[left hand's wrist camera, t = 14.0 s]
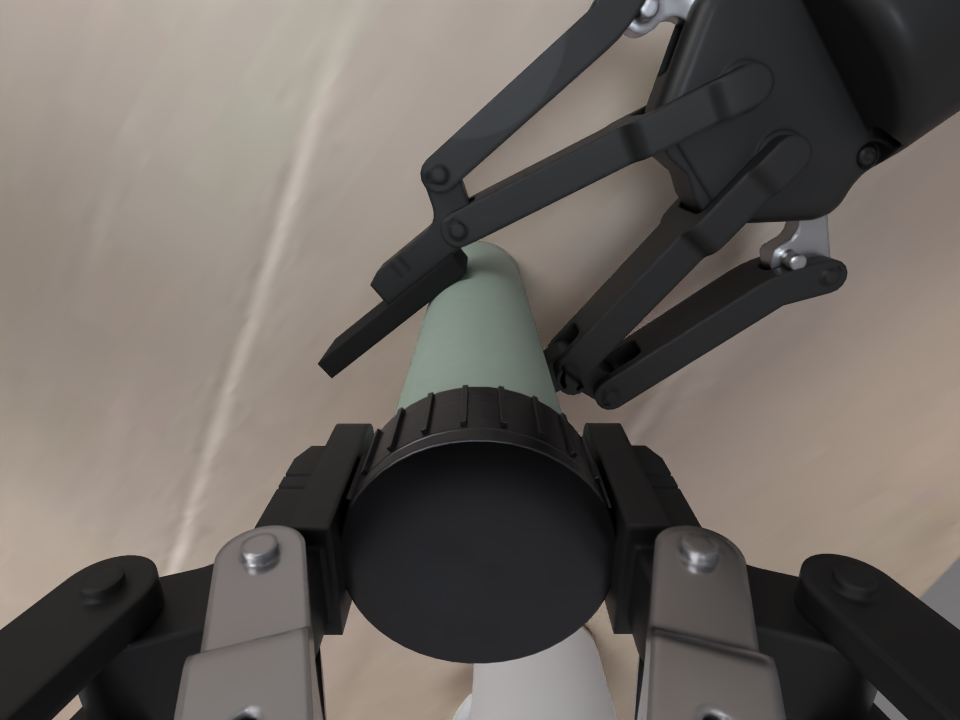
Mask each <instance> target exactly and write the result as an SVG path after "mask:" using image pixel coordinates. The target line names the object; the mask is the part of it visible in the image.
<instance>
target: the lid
mask: <svg viewBox="0 0 960 720" xmlns="http://www.w3.org/2000/svg"><path fill="white" fill-rule="evenodd" d="M345 503H347V504H349V505H348V508H347V511H346V514H345V517H344V519H343V522H342V526H341V531H340V540H341V550H342V559H343V568H344V577H345V585H346V589H347V591H348V593H349V595H350V597H351V599H352V600H353V602H354V603H355V605H356V607H357V608H358V609H359V611H360V612H361V613H362V614H363V615H364V617H365V618H366V619H367V620H368V621H369V622H370V623H371V624H372V625H373V626H375V627H376V628H377V629H378V630H379V631H380V632H382V633H383V634H384V635H386V636H387V637H389V638H390V639H391V640H393V641H395V642H397V643H399V644H400V645H402V646H404V647H406V648H408V649H411V650H413V651H415V652H418V653H420V654H423V655H426V656H430V657H433V658H436V659H441V660H446V661H451V662H459V663H473V664H486V663H498V662H505V661H511V660H516V659H520V658H524V657H527V656H530V655H534V654H536V653H539V652H541V651H544V650H546V649H549V648H551V647H552V646H554V645H556V644H558V643H560V642H562V641H563V640H565V639H566V638H568V637H569V636H571V635H572V634H574V633H575V632H576V631H577V630H579V629H580V628H581V627H582V626H583V625H584V624H585V623H586V622H588V620H589V619H590V618H591V617H592V616H593V615H594V614H595V612H596V611H597V610H598V609H599V607H600V606H601V604H602V603H603V601H604V600H605V598H606V596H607V594H608V592H609V590H610V588H611V581H612V572H613V563H614V554H615V545H616V528H615V524H614V521H613V518H612V516H611V513H610V512H611V504H610V502H609V499H608V496H607V493H606V490H605V487H604V485H603V482H602V479H601V476H600V473H599V471H598V468H597V465H596V463H595V461H594V458H593V456H592V453H591V450H590V447H589V444H588V442H587V439H586V437H585V436H582V437H580V435H579V434H578V433H577V431H576V430H575V429H574V428H573V426H572V425H571V424H570V423H569V422H568V420H567V417H566V415H565V414H564V413H561V414H559V413H557V412H556V411H555V410H553V409H552V408H551V407H549V406H547V405H545V404H544V403H542V402H540V401H538V397H536V396H534V395H533V396H532V397H529V396H527V395H524V394H521V393H518V392H514V391H510V390H506V389H504V387H503V386H498V388H493V387H468V385H462V388H455V389H451V390H446V391H442V392H438V393H436V394H434V393H433V392H431V393H428V396H427V397H425V398H423V399H421V400H419V401H417V402H415V403H413V404H411V405H409V406H408V407H406V408H405V409H404V408H403V407H401V408H400V409H398V411H397V414H396V416H394V417H393V418H392V419H391V420H390V421H389V422H388V423H387V424H386V425H385V426H384V427H383V429H382V430H379V429H377V430H376V432H375V434H374V436H373V439H372V442H371V445H370V448H369V450H368V453H367V456H365V455H362V457H361V459H360V462H359V465H358V467H357V470H356V473H355V475H354V478H353V481H352V484H351V486H350V489H349V492H348V494H347V497H346V500H345Z"/></svg>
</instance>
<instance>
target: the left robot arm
mask: <svg viewBox="0 0 960 720" xmlns="http://www.w3.org/2000/svg"><path fill="white" fill-rule="evenodd" d="M373 436H374V431H373V426H372V424H337V425H336V426H335V428H334V430H333V432H332V434H331V436H330V438H329V440H328V442H327V444H326V446H311V447H310V448H308V449H307V450H306V451H304V452H303V453H302V454H300V455H299V456H298V457H296V458H295V459H294V461H293V462H292V464H291V466H290V468H289V469H288V471H287V473H286V477H284V478H283V480H282V481H281V483H280V485H279V489H277V490H276V492H275V494H274V495H273V497H272V499H271V500H270V502H269V504H268V506H267V507H266V509H265V511H264V513H263V514H262V516H261V518H260V519H259V521H258V523H257V525H256V526H255V528H254V529H252V530H249V531H246V532H244V533H242V534H240V535H238V536H236V537H234V538H233V539H231V540H230V541H229V542H227V543H226V544H225V545H224V546H223V547H222V548H221V550H220V551H219V552H218V554H217V556H216V558H215V562H214V564H211V565H208V566H206V567H202V568H199V569H195V570H190V571H186V572H181V573H177V574H172V575H168V576H163V577H159V575H158V571H157V568H156V565H155V564H154V562H153V561H151V560H150V559H148V558H145V557H142V556H136V555H127V556H119V557H114V558H109V559H106V560H103V561H100V562H97V563H95V564H92V565H90V566H88V567H86V568H84V569H82V570H80V571H79V572H77V573H75V574H74V575H72V576H71V577H70V578H68V579H67V580H66V581H64V582H63V583H62V584H60V585H59V586H58V587H56V588H55V589H54V590H52V591H51V592H50V593H48V594H47V595H46V596H45V597H43V598H42V599H41V600H39V601H38V602H37V603H35V604H34V605H33V606H31V607H30V608H29V609H27V610H26V611H25V612H23V613H22V614H21V615H20V616H18V617H17V618H16V619H14V620H13V621H12V622H10V623H9V624H8V625H6V626H5V627H4V628H2V629H1V630H0V720H52V719H53V718H54V717H55V716H56V715H57V714H58V713H59V712H60V711H61V710H62V709H63V708H64V707H65V706H66V705H67V704H68V703H69V702H70V701H71V700H72V699H73V698H74V697H75V696H76V695H77V694H78V695H79V698H80V701H81V703H82V706H83V707H82V708H81V709H80V710H79V711H78V712H77V713H76V714H75V715H74V716H73V717H72V718H71V719H70V720H327V715H326V702H325V690H324V678H323V666H322V659H321V652H320V645H321V641H322V638H323V635H343V631H344V627H345V624H346V620H347V617H348V613H349V609H350V606H351V602H352V599H351V597H350V595H349V593H348V591H347V589H346V585H345V577H344V568H343V559H342V550H341V540H340V531H341V526H342V522H343V519H344V517H345V514H346V511H347V508H348V505H349V504H347V503H345V500H346V497H347V494H348V492H349V489H350V486H351V484H352V481H353V478H354V475H355V473H356V470H357V467H358V465H359V462H360V459H361V457H362V455H365V456H367V453H368V450H369V448H370V445H371V442H372V439H373ZM583 436H585V437H586V439H587V442H588V444H589V447H590V450H591V453H592V456H593V458H594V461H595V463H596V465H597V468H598V471H599V473H600V476H601V479H602V482H603V485H604V487H605V490H606V493H607V496H608V499H609V502H610V504H611V512H610V513H611V516H612V518H613V521H614V524H615V528H616V545H615V554H614V563H613V572H612V581H611V588H610V590H609V592H608V594H607V596H606V598H605V603H606V607H607V610H608V614H609V618H610V621H611V625H612V629H613V633H614V634H633V637H634V640H635V644H636V647H637V650H638V653H639V659H638V666H637V678H636V690H635V702H634V714H633V720H890V719H889V718H888V717H887V716H886V715H885V714H884V713H883V712H882V711H881V710H880V709H879V708H878V707H877V706H876V705H875V704H874V703H873V701H874V699H875V696H876V693H877V690H878V691H879V692H880V693H882V694H883V695H884V696H885V697H886V698H887V699H888V700H889V701H890V702H891V703H892V704H893V705H894V706H895V707H896V708H897V709H898V710H899V711H900V712H901V713H902V714H903V715H904V716H905V717H906V718H907V719H908V720H960V630H959V629H958V628H956V627H955V626H954V625H952V624H951V623H950V622H948V621H947V620H946V619H944V618H943V617H942V616H940V615H939V614H938V613H936V612H935V611H934V610H933V609H931V608H930V607H929V606H927V605H926V604H925V603H923V602H922V601H921V600H919V599H918V598H917V597H915V596H914V595H913V594H912V593H910V592H909V591H908V590H906V589H905V588H904V587H902V586H901V585H900V584H898V583H897V582H896V581H894V580H893V579H892V578H891V577H889V576H888V575H886V574H885V573H883V572H882V571H880V570H879V569H877V568H875V567H873V566H871V565H869V564H867V563H865V562H862V561H860V560H857V559H854V558H851V557H847V556H842V555H837V554H818V555H814V556H811V557H809V558H807V559H806V560H805V561H804V562H803V564H802V566H801V569H800V573H799V577H796V576H792V575H787V574H783V573H778V572H774V571H769V570H765V569H760V568H757V567H753V566H750V565H747V564H746V562H745V558H744V556H743V554H742V552H741V551H740V550H739V548H738V547H737V546H736V545H735V544H734V543H733V542H731V541H730V540H729V539H727V538H726V537H724V536H722V535H720V534H718V533H716V532H714V531H711V530H708V529H705V528H702V527H701V526H700V524H699V522H698V520H697V518H696V517H695V515H694V513H693V511H692V510H691V508H690V506H689V504H688V503H687V501H686V499H685V497H684V496H683V494H682V492H681V490H680V489H678V485H677V483H676V482H675V480H674V478H673V476H671V473H670V471H669V469H668V468H667V466H666V464H665V462H664V461H663V459H662V458H661V457H660V456H658V455H657V454H656V453H654V452H653V451H652V450H651V449H649V448H648V447H647V446H631V444H630V442H629V440H628V438H627V436H626V434H625V432H624V430H623V428H622V426H621V424H620V423H586V424H585V426H584V431H583Z"/></svg>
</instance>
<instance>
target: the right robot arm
mask: <svg viewBox="0 0 960 720" xmlns="http://www.w3.org/2000/svg"><path fill="white" fill-rule="evenodd" d="M664 21H665V22H671V23H673V24H675V28H674V31H673V33H672V36H671V39H670V42H669V45H668V47H667V50H666V53H665V56H664V59H663V61H662V64H661V67H660V70H659V72H658V75H657V78H656V81H655V84H654V86H653V89H652V92H651V95H650V97H649V100H648V103H647V105H646V106H644V107H642V108H640V109H638V110H636V111H634V112H632V113H630V114H628V115H626V116H624V117H622V118H620V119H619V120H617V121H615V122H613V123H611V124H609V125H608V126H607V127H605V128H603V129H602V130H600V131H598V132H596V133H594V134H592V135H590V136H588V137H586V138H584V139H582V140H580V141H578V142H576V143H574V144H572V145H570V146H569V147H567V148H565V149H563V150H561V151H559V152H557V153H555V154H553V155H551V156H549V157H547V158H545V159H543V160H541V161H539V162H537V163H535V164H534V165H532V166H530V167H528V168H526V169H524V170H522V171H520V172H518V173H516V174H514V175H512V176H510V177H508V178H506V179H504V180H502V181H500V182H499V183H497V184H495V185H493V186H491V187H489V188H487V189H485V190H483V191H481V192H479V193H477V194H475V195H473V196H471V197H468V194H467V191H466V188H465V185H464V182H463V178H464V177H465V176H466V175H467V174H468V173H470V172H471V171H472V170H473V169H474V168H475V167H476V166H477V165H479V164H480V163H481V162H482V161H483V160H484V159H485V158H486V157H488V156H489V155H490V154H491V153H492V152H493V151H494V150H495V149H497V148H498V147H499V146H500V145H501V144H502V143H503V142H504V141H506V140H507V139H508V138H509V137H510V136H511V135H512V134H513V133H515V132H516V131H517V130H518V129H519V128H520V127H521V126H522V125H524V124H525V123H526V122H527V121H528V120H529V119H530V118H531V117H533V116H534V115H535V114H536V113H537V112H538V111H539V110H540V109H542V108H543V107H544V106H545V105H546V104H547V103H548V102H549V101H551V100H552V99H553V98H554V97H555V96H556V95H557V94H558V93H560V92H561V91H562V90H563V89H564V88H565V87H566V86H567V85H569V84H570V83H571V82H572V81H573V80H574V79H575V78H576V77H578V76H579V75H580V74H581V73H582V72H583V71H584V70H585V69H587V68H588V67H589V66H590V65H591V64H592V63H593V62H594V61H596V60H597V59H598V58H599V57H600V56H601V55H602V54H603V53H604V52H606V51H607V50H608V49H609V48H610V47H611V46H612V45H613V44H614V43H615V42H616V41H617V40H618V39H619V38H620V37H621V36H622V34H623V35H625V36H627V37H629V38H639V37H642V36H643V35H645V34H647V33H648V32H650V31H652V30H653V29H654V28H655V27H656V26H657V25H658V24H659V23H660V22H664ZM958 111H960V0H594V1H593V3H592V5H591V7H590V9H589V10H588V12H587V13H586V14H585V15H584V16H583V17H581V18H580V19H579V20H578V21H577V22H576V23H575V24H574V25H573V26H572V27H571V28H569V29H568V30H567V31H566V32H565V33H564V34H563V35H562V36H561V37H560V38H559V39H558V40H556V41H555V42H554V43H553V44H552V45H551V46H550V47H549V48H548V49H547V50H546V51H544V52H543V53H542V54H541V55H540V56H539V57H538V58H537V59H536V60H535V61H534V62H533V63H531V64H530V65H529V66H528V67H527V68H526V69H525V70H524V71H523V72H522V73H521V74H519V75H518V76H517V77H516V78H515V79H514V80H513V81H512V82H511V83H510V84H509V85H507V86H506V87H505V88H504V89H503V90H502V91H501V92H500V93H499V94H498V95H497V96H496V97H494V98H493V99H492V100H491V101H490V102H489V103H488V104H487V105H486V106H485V107H484V108H482V109H481V110H480V111H479V112H478V113H477V114H476V115H475V116H474V117H473V118H472V119H471V120H469V121H468V122H467V123H466V124H465V125H464V126H463V127H462V128H461V129H460V130H459V131H457V132H456V133H455V134H454V135H453V136H452V137H451V138H450V139H449V140H448V141H447V142H446V143H444V144H443V145H442V146H441V147H440V148H439V149H438V150H437V151H436V152H435V153H434V154H432V155H431V156H430V157H429V158H428V159H427V160H426V161H425V163H424V164H423V166H422V169H421V180H422V182H423V184H424V186H425V187H426V189H427V192H428V195H429V198H430V201H431V203H432V206H433V211H434V219H433V222H432V224H431V225H430V226H429V227H427V228H426V229H425V230H424V231H423V232H421V233H420V234H419V235H418V236H417V237H415V238H414V239H413V240H412V241H410V242H409V243H408V244H407V245H406V246H404V247H403V248H402V249H401V250H400V251H398V252H397V253H396V254H395V255H394V256H392V257H391V258H390V259H389V260H387V261H386V262H385V263H384V264H383V265H382V266H381V268H380V269H379V270H378V272H377V273H376V275H375V277H374V279H373V281H372V283H371V286H372V288H373V289H374V290H375V291H376V292H377V293H378V294H379V296H380V297H381V298H382V299H383V301H382V302H381V303H380V304H378V305H377V306H376V307H375V308H373V309H372V310H371V311H370V312H368V313H367V314H366V315H365V316H363V317H362V318H361V319H360V320H359V321H357V322H356V323H355V324H354V325H352V326H351V327H350V328H349V329H347V330H346V331H345V332H344V333H342V334H341V335H340V336H339V337H337V338H336V339H335V340H334V342H333V343H332V345H331V346H330V347H329V349H328V350H327V352H326V353H325V354H324V356H323V357H322V359H321V360H320V361H319V363H318V365H319V366H320V367H321V368H322V369H323V370H324V371H325V372H326V373H327V374H328V375H329V376H330V377H331V378H333V377H334V376H335V375H337V374H338V373H339V372H341V371H342V370H343V369H344V368H346V367H347V366H348V365H349V364H351V363H352V362H353V361H355V360H356V359H357V358H358V357H360V356H361V355H362V354H363V353H365V352H366V351H367V350H369V349H370V348H371V347H372V346H374V345H375V344H376V343H378V342H379V341H380V340H381V339H383V338H384V337H385V336H386V335H388V334H389V333H390V332H392V331H393V330H394V329H395V328H397V327H398V326H399V325H401V324H402V323H403V322H404V321H406V320H407V319H408V318H409V317H411V316H412V315H413V314H415V313H416V312H417V311H418V310H420V309H421V308H422V307H423V306H425V305H426V304H427V303H429V302H430V301H431V300H432V299H434V298H435V297H436V296H438V295H439V294H440V293H441V292H442V291H444V290H445V289H446V288H448V287H449V286H450V285H452V284H453V283H454V282H455V281H457V280H458V279H459V278H461V277H462V276H463V275H464V274H466V271H467V262H468V256H467V255H466V254H465V253H464V251H463V250H462V249H461V248H462V247H465V246H467V245H469V244H471V243H473V242H475V241H477V240H479V239H481V238H483V237H485V236H487V235H489V234H492V233H494V232H496V231H498V230H500V229H502V228H504V227H506V226H508V225H510V224H512V223H514V222H516V221H518V220H520V219H522V218H524V217H526V216H528V215H530V214H532V213H534V212H536V211H538V210H540V209H542V208H544V207H546V206H548V205H550V204H552V203H554V202H556V201H558V200H560V199H562V198H564V197H566V196H568V195H570V194H572V193H574V192H576V191H578V190H580V189H582V188H584V187H586V186H588V185H590V184H592V183H594V182H596V181H598V180H600V179H602V178H604V177H606V176H608V175H610V174H612V173H614V172H616V171H618V170H620V169H622V168H624V167H626V166H628V165H630V164H632V163H635V162H638V161H641V160H644V159H647V158H649V157H651V156H653V157H654V158H655V159H656V160H657V161H658V162H660V163H661V164H662V165H663V166H664V167H665V168H667V169H668V170H669V172H670V175H671V178H672V181H673V185H674V188H675V192H676V194H677V195H678V197H679V198H678V199H677V200H676V201H675V203H674V204H673V205H672V206H671V207H670V208H669V209H668V210H667V211H666V212H665V214H664V215H663V217H662V219H661V222H660V224H659V225H658V227H657V228H656V229H655V230H654V231H653V232H652V233H651V234H650V235H649V236H648V237H647V239H646V240H645V241H644V242H643V243H642V244H641V245H640V246H639V247H638V248H637V249H636V250H635V251H634V252H633V254H632V255H631V256H630V257H629V258H628V259H627V260H626V261H625V262H624V263H623V264H622V265H621V266H620V267H619V269H618V270H617V271H616V272H615V273H614V274H613V275H612V276H611V277H610V278H609V279H608V280H607V281H606V282H605V284H604V285H603V286H602V287H601V288H600V289H599V290H598V291H597V292H596V293H595V294H594V295H593V296H592V297H591V299H590V300H589V301H588V302H587V303H586V304H585V305H584V306H583V307H582V308H581V309H580V310H579V311H578V312H577V313H576V315H575V316H574V317H573V318H572V319H571V320H570V321H569V322H568V323H567V324H566V325H565V326H564V327H563V328H562V330H561V331H560V332H559V333H558V334H557V335H556V336H555V337H554V338H553V339H552V340H551V342H550V343H549V345H548V348H547V349H545V350H544V351H543V353H544V356H545V359H546V363H547V366H548V369H549V373H550V376H551V379H552V383H553V386H554V389H555V392H558V391H559V390H561V391H562V392H564V393H566V394H569V395H575V394H579V393H581V392H583V393H585V394H586V395H588V396H590V397H591V398H593V399H595V400H596V402H597V404H598V405H599V406H600V407H601V408H604V409H607V410H611V409H616V408H618V407H620V406H622V405H623V404H625V403H626V402H628V401H630V400H631V399H633V398H635V397H636V396H638V395H639V394H641V393H643V392H644V391H646V390H647V389H649V388H651V387H652V386H654V385H656V384H657V383H659V382H660V381H662V380H664V379H665V378H667V377H668V376H670V375H672V374H673V373H675V372H677V371H678V370H680V369H681V368H683V367H685V366H686V365H688V364H689V363H691V362H693V361H694V360H696V359H698V358H699V357H701V356H702V355H704V354H706V353H707V352H709V351H710V350H712V349H714V348H715V347H717V346H718V345H720V344H722V343H723V342H725V341H727V340H728V339H730V338H731V337H733V336H735V335H736V334H738V333H739V332H741V331H743V330H744V329H746V328H748V327H749V326H751V325H752V324H754V323H756V322H757V321H759V320H760V319H762V318H764V317H765V316H767V315H769V314H770V313H772V312H773V311H775V310H777V309H778V308H780V307H781V306H783V305H787V304H790V303H794V302H798V301H802V300H805V299H809V298H813V297H816V296H820V295H824V294H828V293H831V292H833V291H836V290H838V289H839V288H840V287H841V286H842V285H843V284H844V282H845V280H846V278H847V269H846V266H845V265H844V264H843V263H842V262H841V261H838V260H835V259H832V258H830V249H829V234H828V218H827V214H829V213H830V212H832V211H833V210H834V209H835V208H836V207H837V206H839V204H840V203H841V202H842V201H843V199H844V198H845V196H846V194H847V193H848V191H849V190H850V188H851V187H852V185H853V184H854V183H855V182H856V181H857V179H858V178H859V177H860V176H861V175H862V174H863V173H865V172H866V171H867V170H869V169H870V168H872V167H874V166H875V165H877V164H879V163H881V162H883V161H884V160H886V159H888V158H890V157H892V156H893V155H895V154H897V153H898V152H900V151H902V150H903V149H905V148H906V147H908V146H909V145H911V144H912V143H913V142H915V141H916V140H918V139H919V138H921V137H922V136H924V135H925V134H926V133H928V132H929V131H931V130H932V129H934V128H935V127H937V126H938V125H939V124H941V123H942V122H944V121H945V120H947V119H948V118H950V117H951V116H952V115H954V114H955V113H957V112H958ZM783 221H786V224H785V226H784V229H783V230H782V232H781V233H780V234H779V235H778V236H777V237H775V238H773V239H771V240H770V241H768V242H767V243H764V244H763V245H762V246H761V248H760V252H759V253H760V257H758V258H755V259H752V260H750V261H747V262H745V263H743V264H741V265H739V266H737V267H735V268H734V269H732V270H730V271H728V272H727V273H725V274H724V275H722V276H721V277H719V278H718V279H716V280H715V281H713V282H711V283H710V284H708V285H707V286H705V287H704V288H702V289H701V290H699V291H698V292H696V293H695V294H693V295H691V296H690V297H688V298H687V299H685V300H684V301H682V302H681V303H679V304H678V305H676V306H675V307H673V308H671V309H670V310H668V311H667V312H665V313H664V314H662V315H661V316H659V317H658V318H656V319H655V320H653V321H651V322H650V323H648V324H647V325H645V326H644V327H642V328H641V329H639V330H638V331H636V332H635V333H633V334H631V335H630V336H628V337H627V338H625V337H626V336H627V335H628V334H629V333H630V332H631V331H632V330H633V329H634V328H635V327H636V326H637V325H638V324H639V323H640V322H641V321H642V320H643V319H644V318H645V317H646V316H647V315H648V314H649V313H650V312H651V311H652V310H653V309H654V308H655V307H656V305H657V304H658V303H659V302H660V301H661V300H662V299H663V298H664V297H665V296H666V295H667V294H668V293H669V292H670V291H671V290H672V289H673V288H674V287H675V286H676V285H677V284H678V283H679V282H680V281H681V280H682V279H683V278H684V277H685V276H686V275H687V274H688V273H689V272H690V271H691V270H692V269H693V268H694V267H695V266H696V265H697V264H698V263H699V262H700V261H701V260H702V259H703V258H705V257H706V256H709V255H712V254H714V253H716V252H717V251H719V250H720V249H721V248H722V247H723V246H724V245H725V244H726V243H727V242H728V241H729V240H730V239H731V238H732V237H733V236H734V235H735V234H736V233H737V232H738V231H739V230H740V229H741V228H742V227H743V226H744V225H745V224H746V223H759V222H783ZM624 338H625V339H624ZM623 339H624V340H623Z"/></svg>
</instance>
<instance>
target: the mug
mask: <svg viewBox="0 0 960 720" xmlns="http://www.w3.org/2000/svg"><path fill="white" fill-rule="evenodd" d="M469 719H470V720H617V717H616V714H615V710H614V707H613V703H612V699H611V696H610V692H609V689H608V685H607V682H606V678H605V674H604V671H603V667H602V664H601V660H600V656H599V653H598V649H597V646H596V643H595V641H594V639H593V637H592V635H591V634H590V633H589V632H588V631H587V630H586V629H585V627H584V626H582V627H581V628H580V629H579V630H577V631H576V632H575V633H574V634H572V635H571V636H569V637H568V638H566V639H565V640H563V641H562V642H560V643H558V644H556V645H554V646H552V647H551V648H549V649H546V650H544V651H541V652H539V653H536V654H534V655H530V656H527V657H524V658H520V659H516V660H511V661H505V662H498V663H486V664H474V671H473V685H472V693H471V694H470V695H468V696H467V698H466V699H465V700H464V701H463V703H462V704H461V705H460V706H459V708H458V710H457V712H456V713H455V715H454V717H453V719H452V720H469Z"/></svg>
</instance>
